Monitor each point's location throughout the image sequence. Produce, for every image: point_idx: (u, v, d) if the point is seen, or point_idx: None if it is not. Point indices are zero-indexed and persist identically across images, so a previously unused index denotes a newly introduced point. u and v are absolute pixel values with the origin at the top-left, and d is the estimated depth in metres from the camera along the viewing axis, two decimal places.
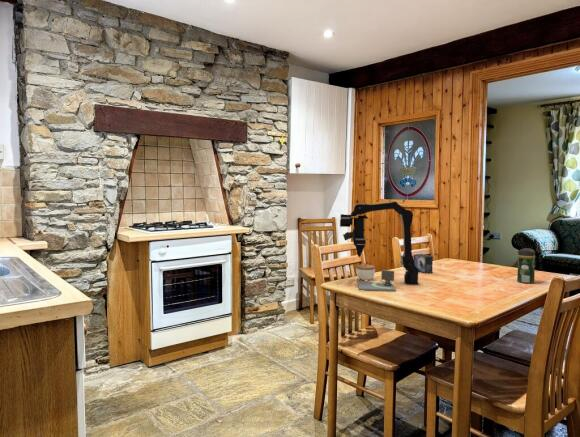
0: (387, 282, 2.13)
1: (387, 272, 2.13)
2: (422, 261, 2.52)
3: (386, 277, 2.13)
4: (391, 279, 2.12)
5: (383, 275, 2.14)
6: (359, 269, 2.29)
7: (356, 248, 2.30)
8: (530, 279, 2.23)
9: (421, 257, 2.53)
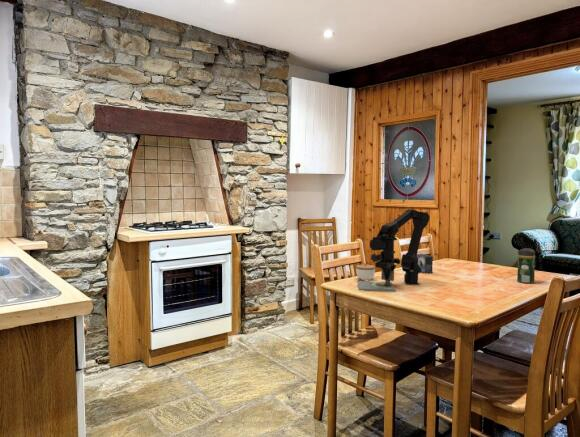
0: (387, 282, 2.13)
1: None
2: (422, 261, 2.52)
3: None
4: (391, 279, 2.12)
5: (383, 275, 2.14)
6: (359, 269, 2.29)
7: None
8: (530, 279, 2.23)
9: (421, 257, 2.53)
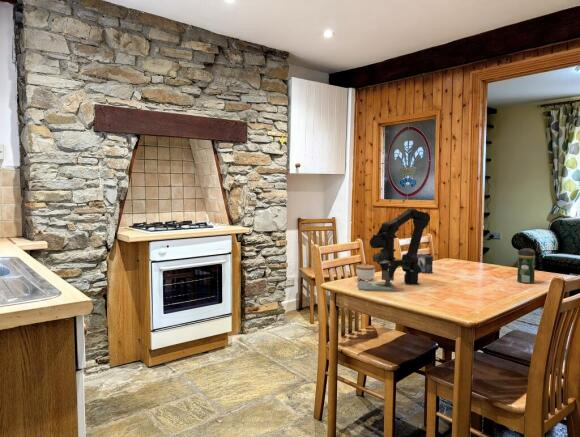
0: (388, 282, 2.13)
1: (388, 272, 2.13)
2: (422, 261, 2.52)
3: (387, 277, 2.13)
4: (392, 279, 2.12)
5: (383, 275, 2.13)
6: (359, 269, 2.29)
7: None
8: (530, 279, 2.23)
9: (421, 257, 2.53)
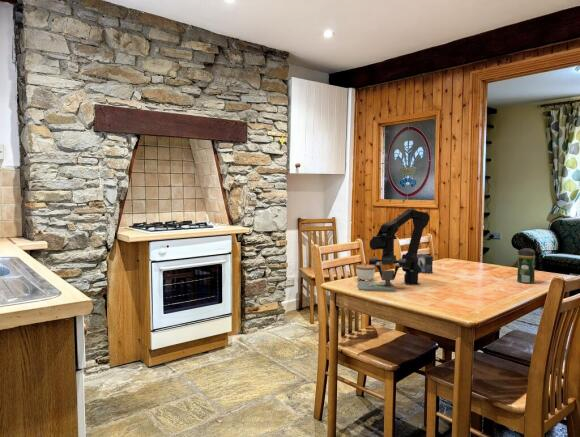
0: (389, 282, 2.13)
1: (389, 272, 2.13)
2: (422, 261, 2.52)
3: (388, 277, 2.13)
4: (393, 278, 2.13)
5: (385, 276, 2.12)
6: (359, 269, 2.29)
7: (381, 272, 2.14)
8: (530, 279, 2.23)
9: (421, 257, 2.53)
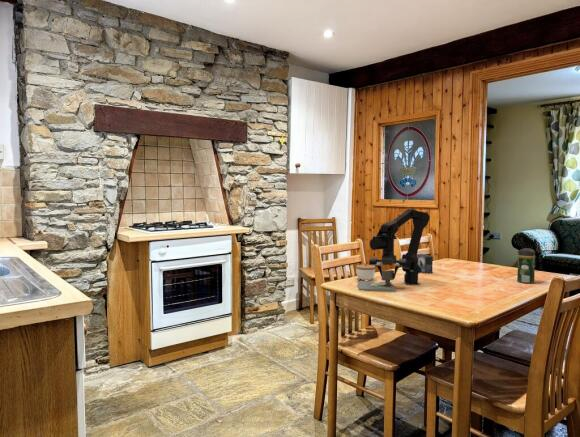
0: (389, 282, 2.13)
1: (389, 272, 2.13)
2: (422, 261, 2.52)
3: (388, 277, 2.13)
4: (392, 278, 2.14)
5: (385, 276, 2.12)
6: (359, 269, 2.29)
7: (381, 272, 2.14)
8: (530, 279, 2.23)
9: (421, 257, 2.53)
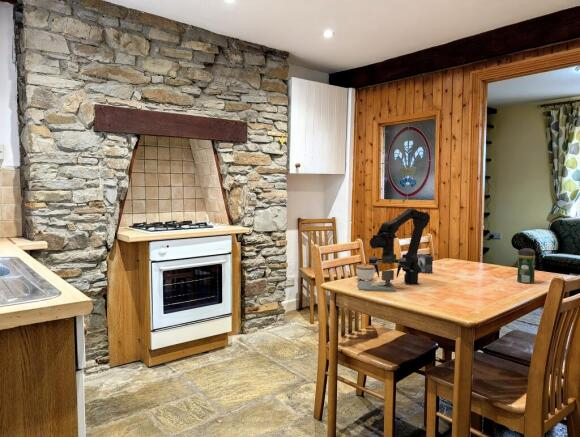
0: (389, 282, 2.13)
1: (389, 272, 2.13)
2: (422, 261, 2.52)
3: (388, 277, 2.13)
4: (392, 278, 2.14)
5: (385, 276, 2.12)
6: (359, 269, 2.29)
7: (378, 271, 2.14)
8: (530, 279, 2.23)
9: (421, 257, 2.53)
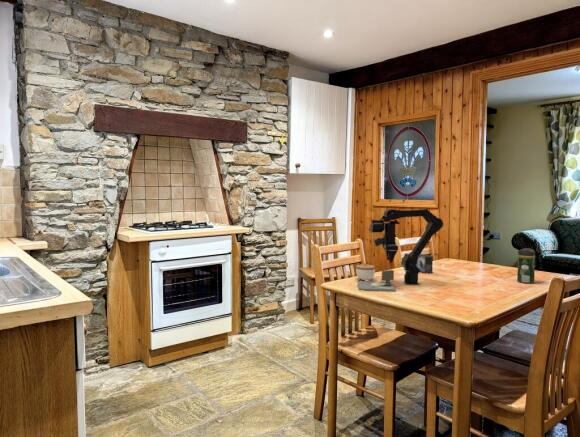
0: (389, 282, 2.13)
1: (389, 272, 2.13)
2: (422, 261, 2.52)
3: (388, 277, 2.13)
4: (392, 278, 2.14)
5: (385, 276, 2.12)
6: (359, 269, 2.29)
7: (386, 254, 2.27)
8: (530, 279, 2.23)
9: (421, 257, 2.53)
